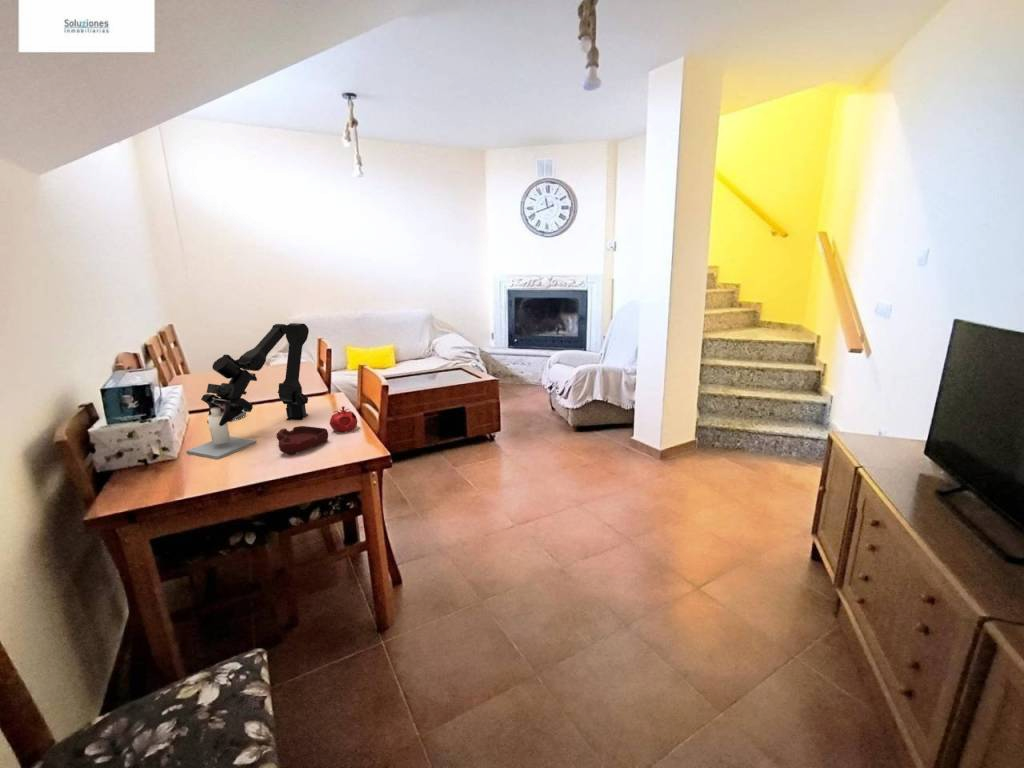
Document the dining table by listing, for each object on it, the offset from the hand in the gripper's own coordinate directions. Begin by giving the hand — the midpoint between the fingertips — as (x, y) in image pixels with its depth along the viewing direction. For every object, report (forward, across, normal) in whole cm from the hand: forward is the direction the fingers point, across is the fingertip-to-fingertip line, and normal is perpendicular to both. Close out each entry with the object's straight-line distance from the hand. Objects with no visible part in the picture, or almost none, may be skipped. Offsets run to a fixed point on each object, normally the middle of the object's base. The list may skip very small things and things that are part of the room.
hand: (214, 424), depth 160 cm
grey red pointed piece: (-12, -27, +26) cm, 39 cm away
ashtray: (-2, +26, +16) cm, 30 cm away
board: (+6, 0, +7) cm, 9 cm away
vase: (+4, 0, +6) cm, 7 cm away
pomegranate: (-15, +28, +28) cm, 43 cm away
